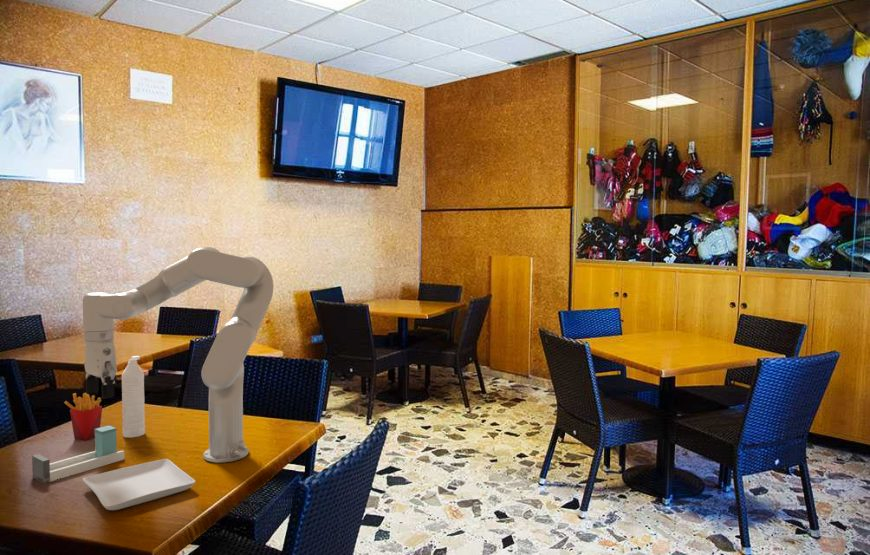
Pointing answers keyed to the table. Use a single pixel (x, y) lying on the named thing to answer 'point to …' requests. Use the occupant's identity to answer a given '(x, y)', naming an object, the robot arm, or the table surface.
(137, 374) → the water bottle
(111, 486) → the salad plate
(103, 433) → the block
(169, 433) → the table surface
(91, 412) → the french fries
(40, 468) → the channel
